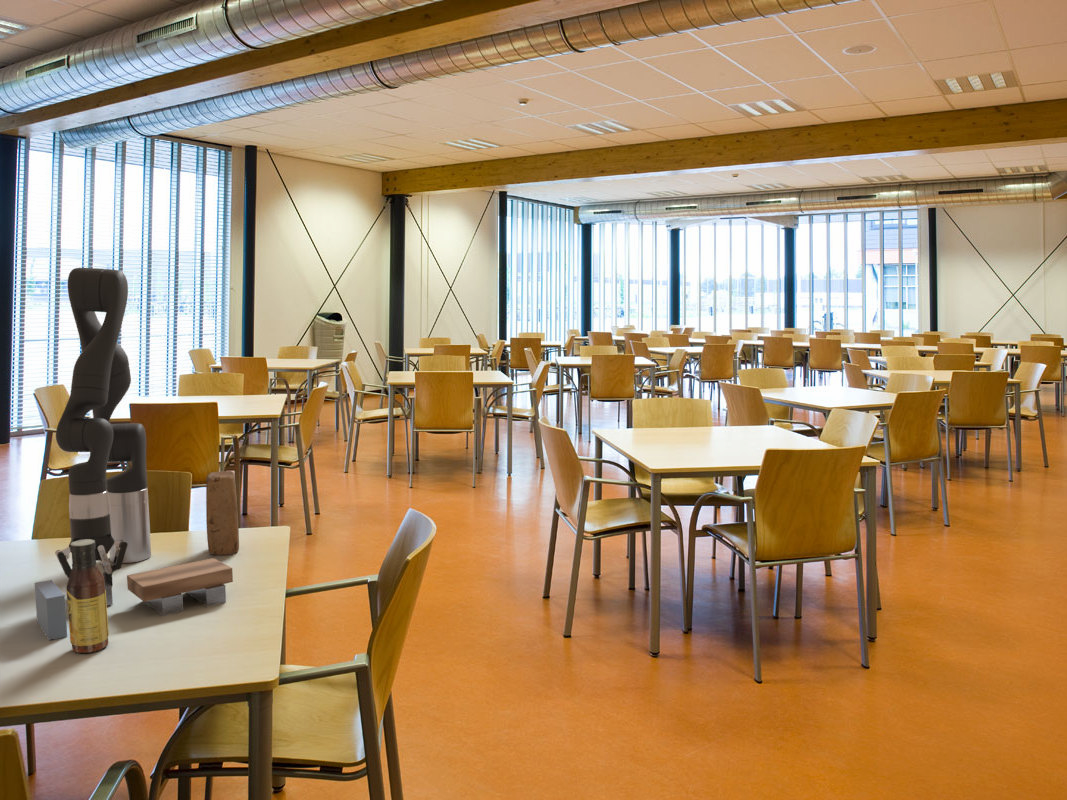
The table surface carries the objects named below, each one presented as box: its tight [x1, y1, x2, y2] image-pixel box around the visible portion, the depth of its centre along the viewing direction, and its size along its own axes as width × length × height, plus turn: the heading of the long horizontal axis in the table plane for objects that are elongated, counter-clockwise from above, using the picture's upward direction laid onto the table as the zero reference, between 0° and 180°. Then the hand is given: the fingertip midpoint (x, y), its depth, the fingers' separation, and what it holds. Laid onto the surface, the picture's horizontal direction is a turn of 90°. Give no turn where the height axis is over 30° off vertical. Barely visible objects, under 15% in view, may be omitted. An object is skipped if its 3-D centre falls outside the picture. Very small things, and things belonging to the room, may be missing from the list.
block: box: [205, 470, 240, 556], centre depth 221 cm, size 11×8×20 cm
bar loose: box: [104, 580, 114, 607], centre depth 185 cm, size 12×4×4 cm, turn 39°
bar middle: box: [144, 593, 184, 617], centre depth 181 cm, size 12×4×4 cm, turn 42°
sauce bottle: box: [65, 539, 110, 654], centre depth 158 cm, size 7×6×20 cm
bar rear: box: [185, 584, 227, 607], centre depth 186 cm, size 12×4×4 cm, turn 41°
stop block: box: [34, 579, 68, 641], centre depth 168 cm, size 12×3×8 cm, turn 39°
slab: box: [126, 557, 234, 603], centre depth 183 cm, size 10×18×3 cm, turn 132°
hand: (94, 592), depth 185 cm, fingers closed on bar loose, 4 cm apart
